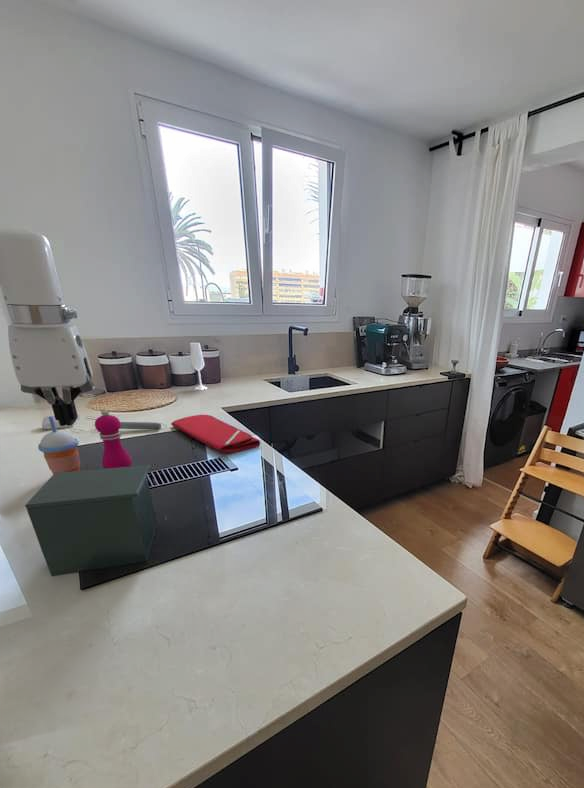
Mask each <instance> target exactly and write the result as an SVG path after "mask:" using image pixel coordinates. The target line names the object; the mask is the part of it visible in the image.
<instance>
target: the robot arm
mask: <svg viewBox="0 0 584 788" xmlns="http://www.w3.org/2000/svg"><path fill="white" fill-rule="evenodd" d="M60 284H61V283H60V280H59V276H58V272H57V267H56V263H55V259H54V255H53V252H52V248H51V244H50V242H49V240H48V239H47V237H46V236H45V235H43V234H41V233H40V232H37V231H33V230H28V229H20V228H10V227H0V288H1V292H2V295H3V298H4V303H5V304H6V309H7V313H8V316H9V318H10V319H9V320H10V322H11V324H9V325H7V331H8V332H7V336H8V346H9V352H10V357H11V362H12V367H13V370H14V375H15V377H16V380H17V381H18V383H19V384H20V391H21V392H22V393H25V394H30V395H31V394H32V395H37V396H39V397H40V398H42V399H43V400H45V401H46V403H48V405H51V408H52V411H53V416H55V419H56V420H59V424H60V426H65V425H67V426H71V425H72V424H73V425H74V424H75V423H76V422H77V420H76V419H79V415H78V410H77V407H76V403H75V400H76V399H77V398H78V397H79V396H80V394H84V393H88V392H91V391H94V390H95V388H96V387H95V384H94V382H93V381H92V379H93V377H94V374H93V373H94V372H93V368H92V366H91V362H90V359H89V355H88V352H87V350H86V347H85V344H84V341H83V339H82V337H81V334H80V331H79V330H78V327H77V325H76V324H70V322H71V320H73V319H78V314H77V313H78V312H77V311H76V310H75V309H70V308H68V307H67V305H65V302H64V301H65V300H64V297H63V293H62V288H61V285H60ZM58 387H59V388H61V394H60V392H59V390H58ZM61 396H62V397H61Z"/></svg>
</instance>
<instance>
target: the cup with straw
mask: <svg viewBox="0 0 584 788" xmlns="http://www.w3.org/2000/svg"><path fill="white" fill-rule="evenodd" d="M47 417H48V418H49V421H50V424H51V428H52V429H51V430H52V431H50V432H48V433H46V434H45V435H43V436H42V438H41V439H40V443H38V445H37V447H38V448H37V449H38V451H39V452H42V453H43V458H44V460H45V462H46V465H47V466H48V468H49V470H50V472H51V474H52V475H53V474H54V473H60V472H72V471H82V470H81V459H80V453H79V449H78V447H77V446H78V445H79V444H80V443H79V440H78V438H76V437H74V436H73V435H72V434H71V433H69V432H66V431H63V430H57V428H56V427H55V424H54V420H53V417H49V416H47Z"/></svg>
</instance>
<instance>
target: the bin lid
mask: <svg viewBox="0 0 584 788" xmlns="http://www.w3.org/2000/svg"><path fill="white" fill-rule="evenodd" d="M150 470H151V465H150V464H144V465H143V464H142V465H130V467H119V468H107V469H104V468H98V469H97V468H96V469H86V470H84V469H83V470H81V471H72V472H60V473H54V474H53V473H52V476H51V477H49V479H48V480H47V481H46V482H45V483H44V484H43V485H42V486H41V487H40V488H39V490H37V492H36V493H34V495H33V496H32V497H31V498H30V499H29V500H28V501H27V502H26V503H25V505H24V506H25V509H26V510H27V509H30V508H39V507H49V506H58V505H67V504H77V503H86V502H96V501H105V500H115V499H124V498H134V497H138V495H139V493H140V491H141V488H142V486H143V484H144V481H145V479H146V477H147V478H148V474H149V472H150Z"/></svg>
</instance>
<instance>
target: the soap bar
mask: <svg viewBox="0 0 584 788" xmlns="http://www.w3.org/2000/svg"><path fill="white" fill-rule="evenodd" d="M48 417H53V420H54V424H55V427H56V429H64V428H68V427H69V428H71V427H72V428H73V427H74V424H73V425H71V427H70V426H68V427H67V425H65V426H60V424H59V420H56V419H55V415H49V416H45V417H44V418H43V419H42V423H41V425H42V426H41V428H42V429H43V430H52V428H51V424H50V421H49V418H48Z"/></svg>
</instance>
